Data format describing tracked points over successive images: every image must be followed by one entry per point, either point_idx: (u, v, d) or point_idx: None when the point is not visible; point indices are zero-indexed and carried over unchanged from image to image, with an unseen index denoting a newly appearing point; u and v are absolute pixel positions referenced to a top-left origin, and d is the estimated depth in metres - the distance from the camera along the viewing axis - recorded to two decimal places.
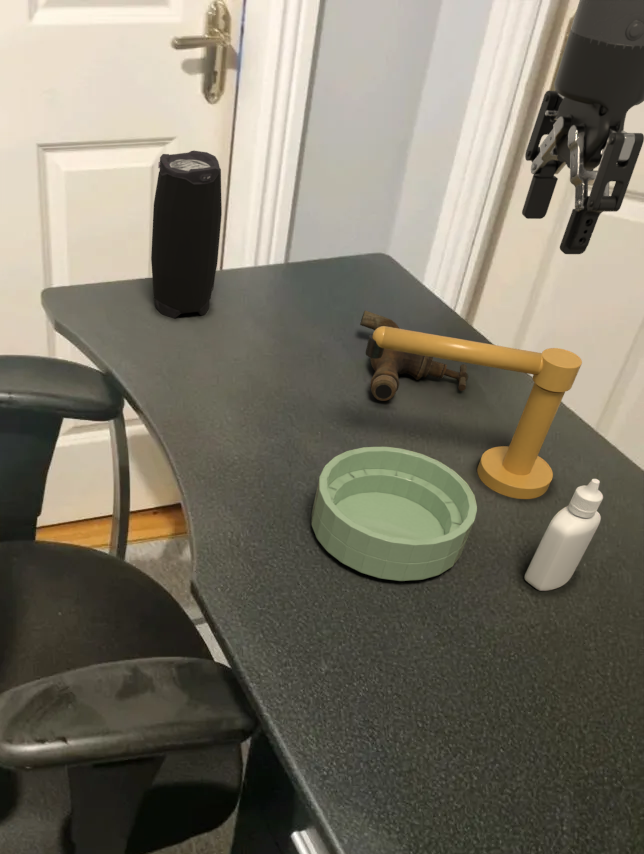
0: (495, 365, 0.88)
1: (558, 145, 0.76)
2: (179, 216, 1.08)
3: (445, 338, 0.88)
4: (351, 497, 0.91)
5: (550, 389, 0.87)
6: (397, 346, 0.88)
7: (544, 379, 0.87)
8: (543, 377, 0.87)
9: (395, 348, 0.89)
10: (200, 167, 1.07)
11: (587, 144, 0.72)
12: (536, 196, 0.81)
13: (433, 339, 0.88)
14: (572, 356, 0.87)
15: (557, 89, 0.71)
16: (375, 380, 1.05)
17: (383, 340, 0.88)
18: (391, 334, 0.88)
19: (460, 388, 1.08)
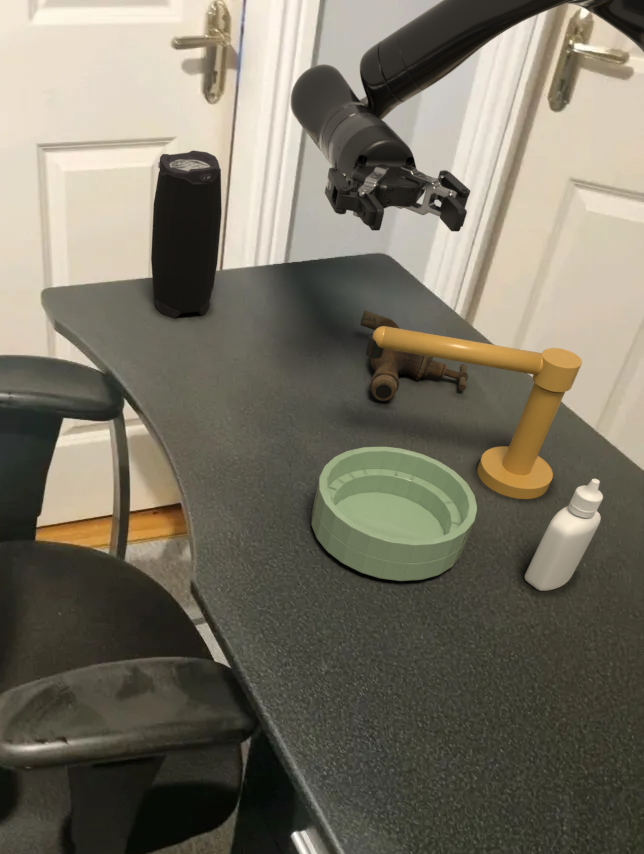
0: (495, 365, 0.88)
1: None
2: (179, 216, 1.08)
3: (445, 338, 0.88)
4: (351, 497, 0.91)
5: (550, 389, 0.87)
6: (397, 346, 0.88)
7: (544, 379, 0.87)
8: (543, 377, 0.87)
9: (395, 348, 0.89)
10: (200, 167, 1.07)
11: None
12: (447, 217, 0.87)
13: (433, 339, 0.88)
14: (572, 356, 0.87)
15: None
16: (375, 380, 1.05)
17: (383, 340, 0.88)
18: (391, 334, 0.88)
19: (460, 388, 1.08)
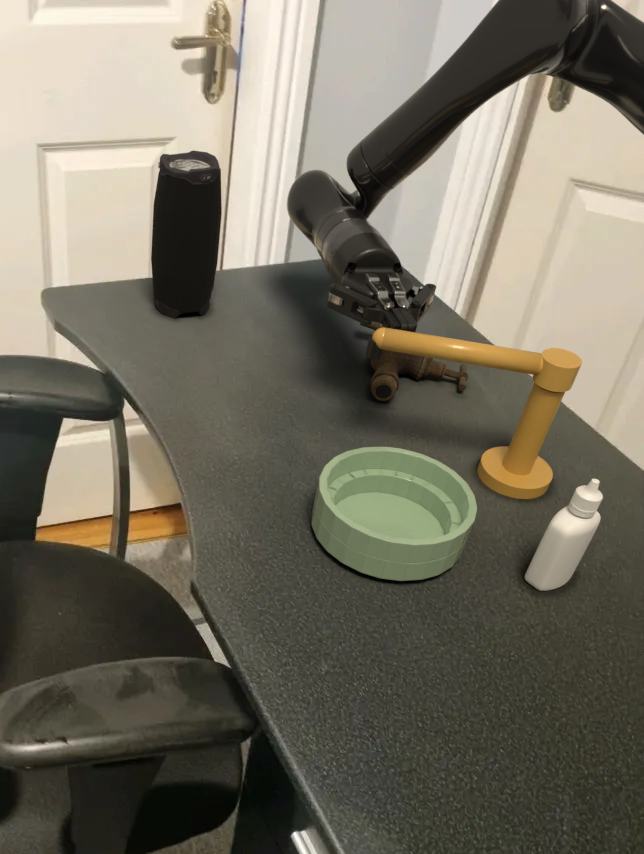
0: (495, 365, 0.87)
1: None
2: (179, 216, 1.08)
3: (445, 339, 0.87)
4: (351, 497, 0.91)
5: (550, 389, 0.87)
6: (397, 347, 0.88)
7: (544, 379, 0.87)
8: (543, 377, 0.87)
9: (395, 349, 0.89)
10: (200, 167, 1.07)
11: None
12: None
13: (433, 340, 0.87)
14: (572, 356, 0.87)
15: None
16: (375, 380, 1.05)
17: (383, 341, 0.88)
18: (391, 335, 0.88)
19: (460, 388, 1.08)
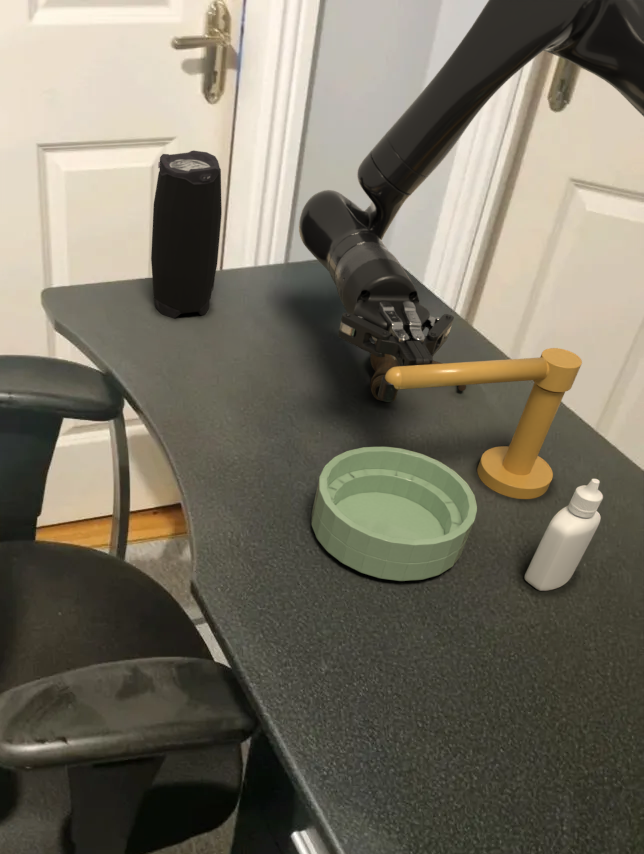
0: (506, 380, 0.86)
1: None
2: (179, 216, 1.08)
3: (457, 365, 0.84)
4: (351, 497, 0.91)
5: (559, 390, 0.87)
6: (415, 384, 0.83)
7: (553, 382, 0.86)
8: (551, 381, 0.86)
9: (412, 387, 0.83)
10: (200, 167, 1.07)
11: None
12: None
13: (447, 369, 0.83)
14: (568, 353, 0.87)
15: None
16: (375, 380, 1.05)
17: (401, 382, 0.83)
18: (407, 373, 0.82)
19: (460, 388, 1.08)
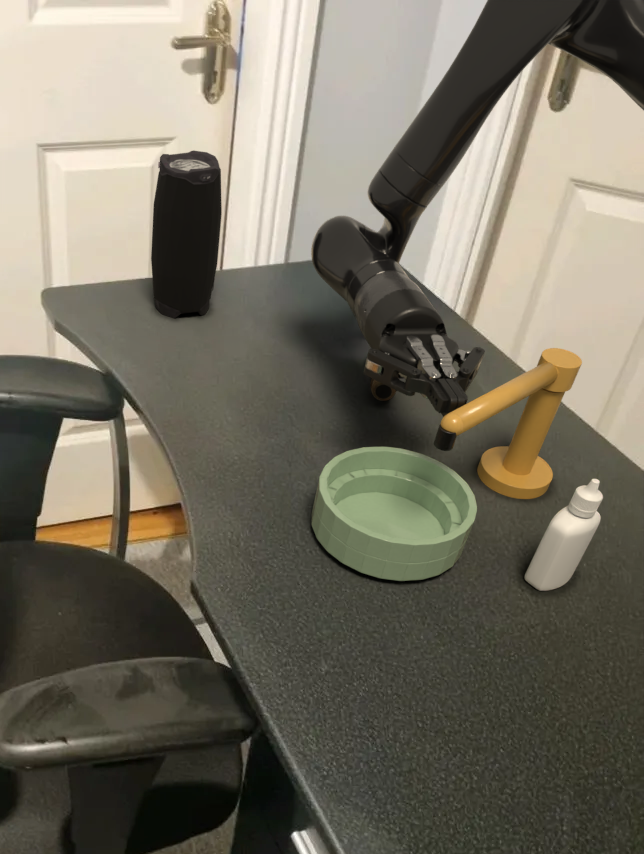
0: (530, 394, 0.84)
1: None
2: (179, 216, 1.08)
3: (496, 394, 0.80)
4: (351, 497, 0.91)
5: (567, 389, 0.87)
6: (471, 426, 0.79)
7: (562, 384, 0.86)
8: (561, 382, 0.86)
9: (469, 428, 0.79)
10: (200, 167, 1.07)
11: None
12: None
13: (492, 401, 0.80)
14: (562, 351, 0.87)
15: None
16: (375, 380, 1.05)
17: (463, 428, 0.78)
18: (466, 417, 0.78)
19: None
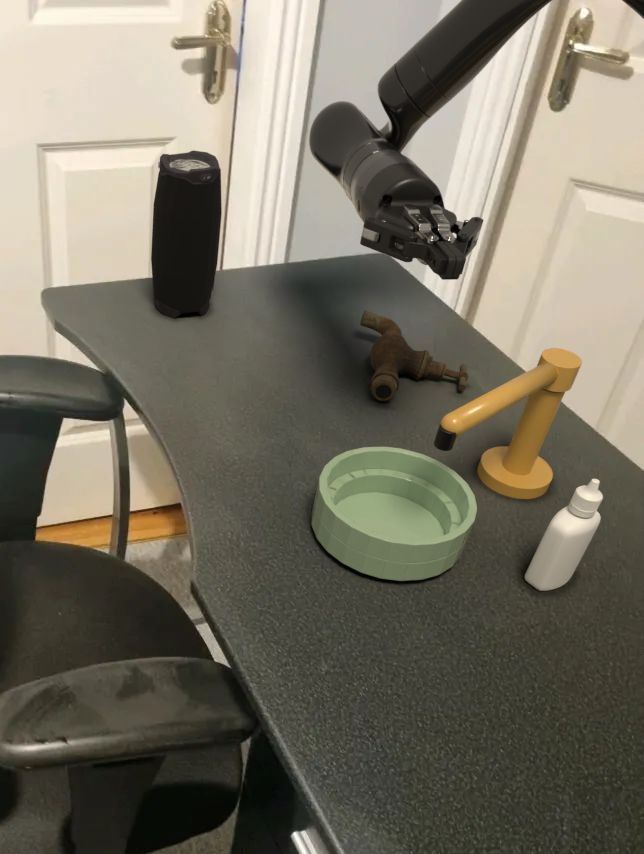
0: (530, 394, 0.84)
1: None
2: (179, 216, 1.08)
3: (496, 394, 0.80)
4: (351, 497, 0.91)
5: (567, 389, 0.87)
6: (472, 426, 0.79)
7: (562, 384, 0.86)
8: (561, 382, 0.86)
9: None
10: (200, 167, 1.07)
11: None
12: None
13: (492, 401, 0.80)
14: (562, 351, 0.87)
15: None
16: (375, 380, 1.05)
17: (463, 428, 0.78)
18: (466, 417, 0.78)
19: (460, 388, 1.08)
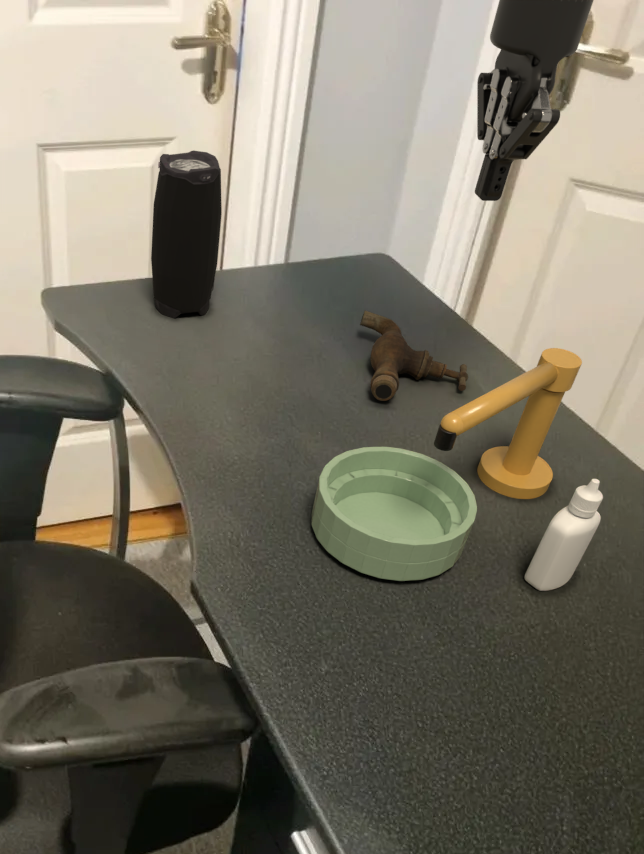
0: (530, 394, 0.84)
1: None
2: (179, 216, 1.08)
3: (496, 394, 0.80)
4: (351, 497, 0.91)
5: (567, 389, 0.87)
6: (472, 426, 0.79)
7: (562, 384, 0.86)
8: (561, 382, 0.86)
9: None
10: (200, 167, 1.07)
11: (521, 95, 0.75)
12: None
13: (492, 401, 0.80)
14: (562, 351, 0.87)
15: (492, 41, 0.74)
16: (375, 380, 1.05)
17: (463, 428, 0.78)
18: (466, 417, 0.78)
19: (460, 388, 1.08)
